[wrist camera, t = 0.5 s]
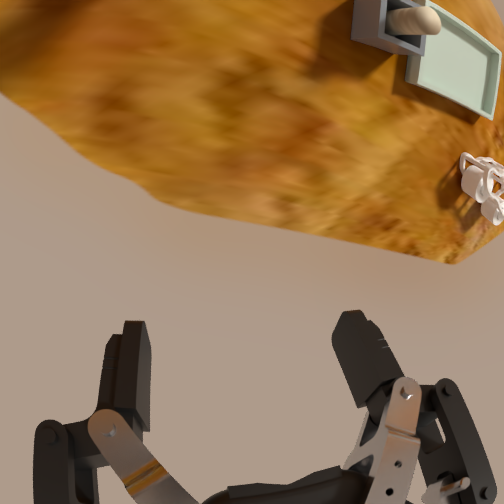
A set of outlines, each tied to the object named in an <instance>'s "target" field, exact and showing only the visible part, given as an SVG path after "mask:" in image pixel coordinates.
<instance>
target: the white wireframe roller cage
mask: <svg viewBox="0 0 504 504" xmlns="http://www.w3.org/2000/svg"><path fill="white" fill-rule="evenodd" d="M465 160H468V161H469V162H471V163H473V164H474V165H476V166H478V167H479V168H478V167H476V166H474V165H472V166H470V167H468V168H467V169H466V171H465ZM488 162H491V163H492V165H491V164H490V163H488ZM480 168H481V169H483V170H484V171H483V170H481V169H480ZM501 169H502V170H501ZM460 170H461V173H462V175H463V176H462V180H461V187H462V190H463V191H464V192H465V193H467V194H468V195H469V196H471V197H472V198H474V199H475V200H476V201H478V202H479V203H482V205H481V214H482V215H483V216H484V217H486V218H487V219H488V220H489V221H491V222H492V223H493V224H494V225H499V224H500V223H501V222H502V221H503V219H504V200H503V199H501V198H500V197H499V196H500V195H501V194H502V193H504V166H502V165H501V164H499V163H497V162H496V161H494V160H493V159H492V158H490V157H487V158H484V157H478V158H475V159H474V158H473V156H472V155H470V154H468V153H466V152H464V153H462V154H461V157H460ZM493 173H495V174H496V175H498V176H500V178H498V177H497V176H495V175H493ZM493 179H494V180H496V181H497V182H499V183H500V184H501V189H500V190H498V191H497V192H496V193H493V192H492V189H493Z"/></svg>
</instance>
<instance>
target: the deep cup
mask: <svg viewBox="0 0 504 504" xmlns="http://www.w3.org/2000/svg"><path fill="white" fill-rule="evenodd" d="M412 7H422V6H421V5H419V4H417V3H415V2H413V1H411V0H354V9H353V20H352V30H351V39H350V40H354V41H357V42H360V43H364V44H367V45H370V46H373V47H376V48H379V49H381V50H384V51H387V52H390V53H392V54H400V55H413V56H423V57H424V54H425V44H426V35H387V34H385V33H384V32H385V22H386V11H389V10H396V9H403V8H412Z"/></svg>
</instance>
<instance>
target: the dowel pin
mask: <svg viewBox="0 0 504 504" xmlns="http://www.w3.org/2000/svg"><path fill="white" fill-rule="evenodd" d="M440 30H441V21H440V18H439V16H438V14H437V13H436V12H435V11H434V10H433V9H432V8H430V7H428V6H422V7H412V8H403V9H396V10H389V11H386V22H385V32H384V33H385V34H387V35H437V34H438V33H439V32H440Z"/></svg>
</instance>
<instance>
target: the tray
mask: <svg viewBox="0 0 504 504" xmlns="http://www.w3.org/2000/svg"><path fill="white" fill-rule="evenodd" d="M413 2H415V3H417V4H419V5H421V6H428V7H430V8H432V9H433V10H434V11H435V12H436V13H437V14H438V16H439V18H440V21H441V30H440V32H439V33H438V34H437V35H426V44H425V54H424V57H423V56H413V55H408V59H407V67H406V74H405V80H404V81H406V82H408V83H411V84H413V85H416V86H419V87H421V88H423V89H426V90H428V91H431V92H433V93H435V94H438V95H440V96H442V97H444V98H446V99H449V100H451V101H453V102H455V103H457V104H459V105H461V106H463V107H465V108H467V109H469V110H471V111H473V112H474V113H476V114H478V115H480V116H482V117H485V118H487V119H489V120H493V115H494V110H495V104H496V99H497V92H498V85H499V77H500V68H501V57H502V52H501V51H499V50H498V49H497V48H496V47H495V46H494V45H492V44H491V43H490V42H489V41H487V40H486V39H485V38H484V37H482V36H481V35H480V34H479V33H477V32H476V31H475V30H473V29H472V28H471V27H469V26H468V25H466V24H465V23H464V22H462V21H461V20H459V19H458V18H456V17H455V16H453V15H452V14H450V13H449V12H447V11H446V10H444V9H443V8H441V7H439V6H438V5H436V4H434V3H433V2H431V1H429V0H413Z"/></svg>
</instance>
